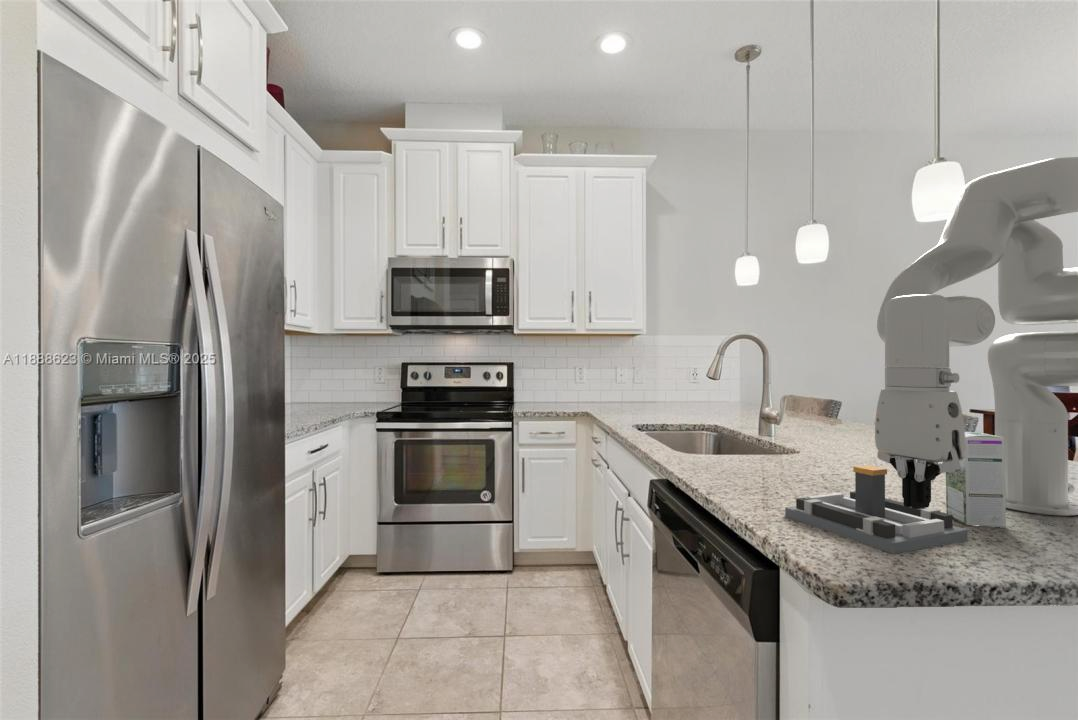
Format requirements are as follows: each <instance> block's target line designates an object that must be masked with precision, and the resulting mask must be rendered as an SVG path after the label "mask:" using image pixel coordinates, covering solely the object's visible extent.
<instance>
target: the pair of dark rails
mask: <svg viewBox="0 0 1078 720" xmlns="http://www.w3.org/2000/svg"><path fill="white" fill-rule="evenodd" d="M849 498H851V499H855V491H850V492H849ZM795 501H796V502H795V504H796V505H795V506H796V508H797V509H800V510H803V511H804V513H806V514H809V515H815V516H818V517H821V518H824V519H827V520H830V521H833V522H836V523H839V524H842V525H846V526H849V527H852V528H855V529H856V528H859V529H862V530H863V532H864V533H867V534H870V535H872V533H874V535H876V536H879V537H882V538H885V539H888V538H894V537H895V524H892V523H889V522H885V521H884V519H883V518H879V517H876V516H875V517H868V516H865V515H861V514H858V513H855V512H851V511H848V510H844V509H841V508H838V507H834V506H831V505H827V504H824V503H822V501H821V500H817V499H813V500H810V499H807V497H799V498H798V497H797V498H795ZM885 508H888V509H892V510H896V511H900V512H903V513H907V514H911V515H914V516H918V517H922V518H926V519H929V520H932V519H940V520H943V521H944V528H951V527H953V526H954V525H953V524H954V523H953V521H954V519H953V515H950V514H946V512H942V511H941V509H938V508H934V507H927V508H920V509H914V508H912V507H906V506H904V504H903V502H901V501H897V500H894V499H890V498H886V497H885Z"/></svg>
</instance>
